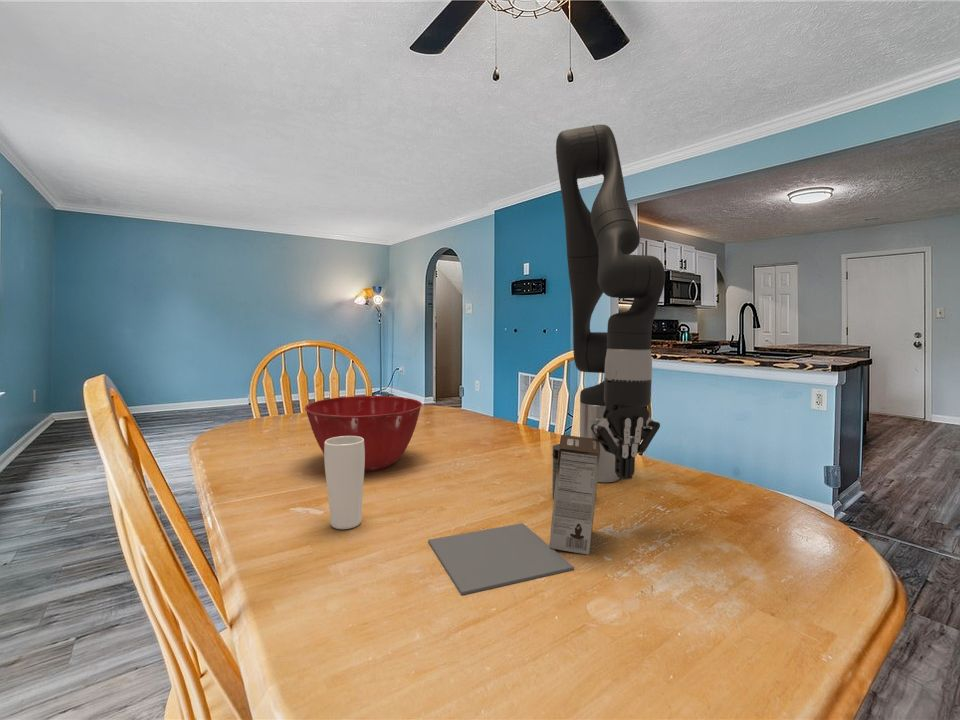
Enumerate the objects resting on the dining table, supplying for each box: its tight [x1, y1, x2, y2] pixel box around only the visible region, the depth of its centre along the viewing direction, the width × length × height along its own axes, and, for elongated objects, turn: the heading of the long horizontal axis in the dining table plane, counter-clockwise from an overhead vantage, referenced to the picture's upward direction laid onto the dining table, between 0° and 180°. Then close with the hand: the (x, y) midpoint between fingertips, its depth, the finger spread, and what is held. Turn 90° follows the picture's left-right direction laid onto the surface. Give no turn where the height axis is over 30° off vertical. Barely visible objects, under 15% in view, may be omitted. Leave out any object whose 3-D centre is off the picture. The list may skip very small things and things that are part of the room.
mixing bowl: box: [304, 395, 423, 473], centre depth 117 cm, size 28×28×15 cm
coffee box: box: [549, 434, 601, 556], centre depth 75 cm, size 9×6×16 cm
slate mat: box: [427, 522, 575, 596], centre depth 70 cm, size 17×16×1 cm
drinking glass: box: [323, 436, 365, 530], centre depth 81 cm, size 7×7×15 cm
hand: (624, 477), depth 79 cm, fingers closed
